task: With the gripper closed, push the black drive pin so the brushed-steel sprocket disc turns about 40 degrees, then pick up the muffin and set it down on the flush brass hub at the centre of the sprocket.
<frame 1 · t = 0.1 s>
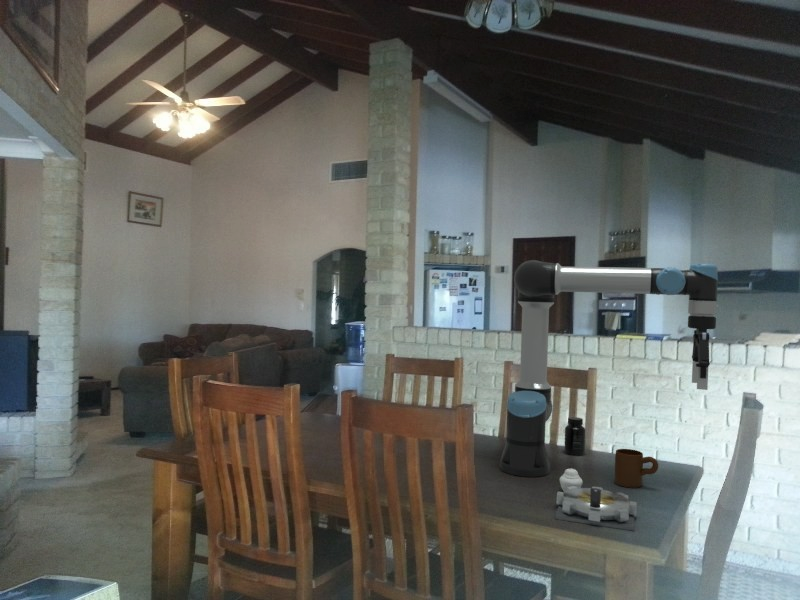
hand: (699, 386, 184), 28 cm above the table, fingers open, 13 cm apart
muffin: (570, 494, 168), on the table
sprocket: (596, 495, 154), point 4 cm above the table, hinge at 0.0°
mug: (635, 486, 176), on the table
supplement bottle: (574, 453, 210), on the table
base plate: (595, 512, 154), on the table
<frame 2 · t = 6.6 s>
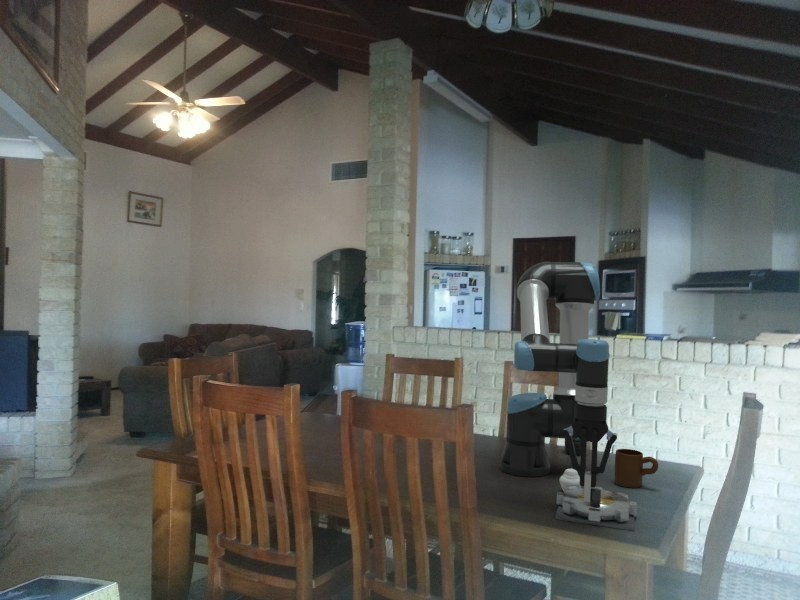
hand: (587, 499, 150), 5 cm above the table, fingers closed
sprocket: (596, 495, 154), point 4 cm above the table, hinge at 0.0°, touching gripper
everything else where it was.
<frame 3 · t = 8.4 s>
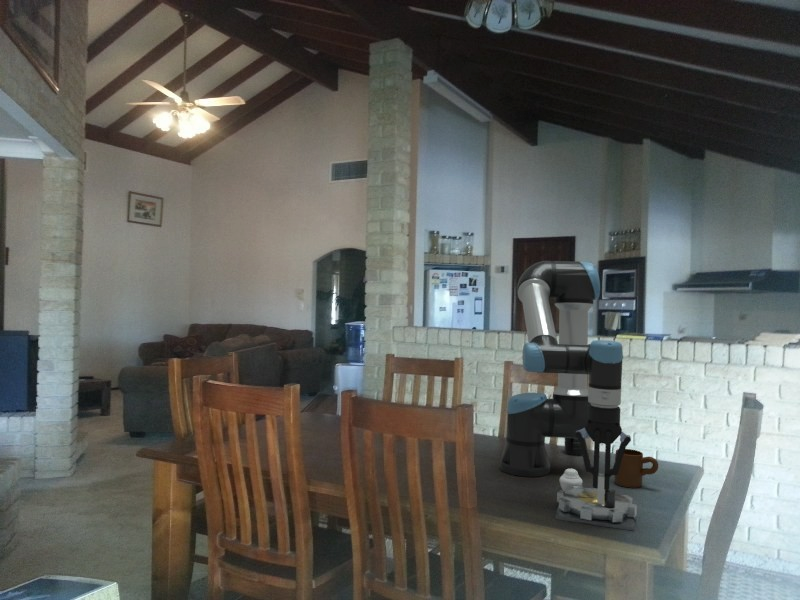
hand: (600, 501, 149), 5 cm above the table, fingers closed
sprocket: (596, 495, 154), point 4 cm above the table, hinge at 33.2°
everything else where it was.
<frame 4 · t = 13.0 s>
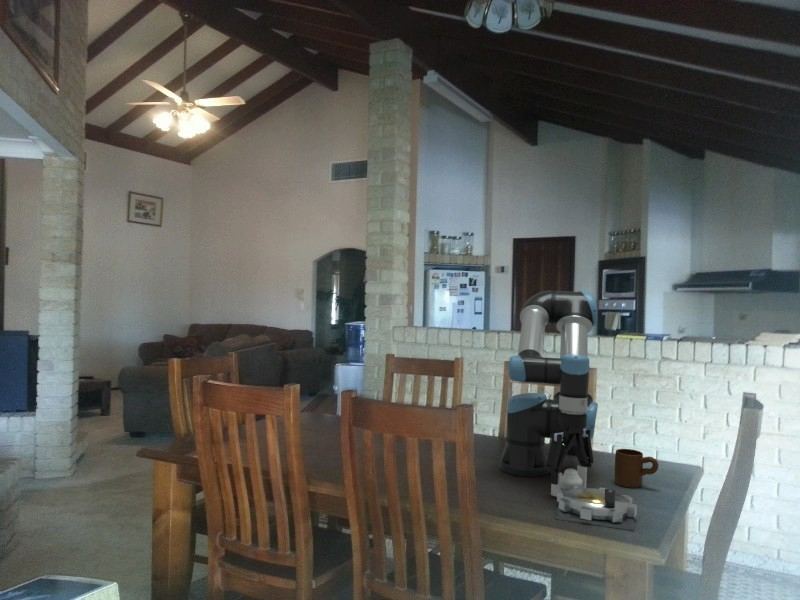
hand: (568, 492, 168), 0 cm above the table, fingers open, 10 cm apart
nothing on the table moved.
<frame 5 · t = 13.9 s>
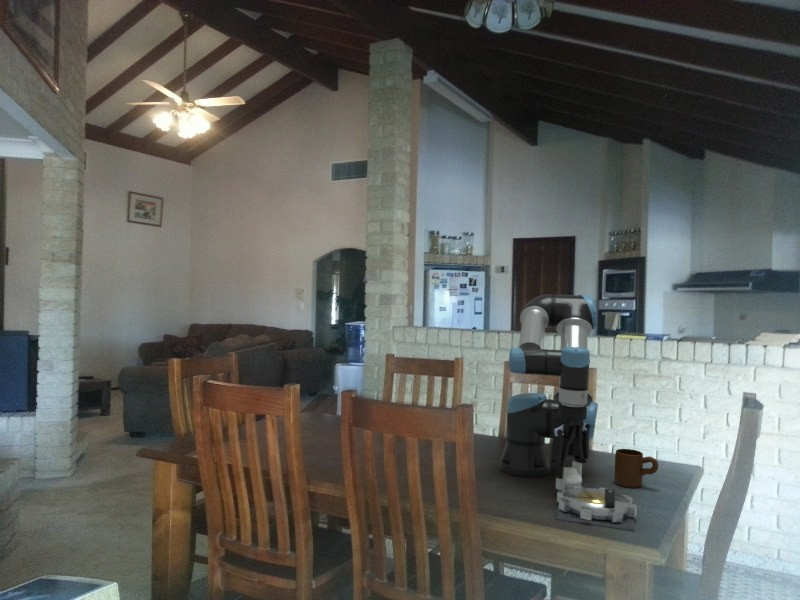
hand: (568, 487, 169), 1 cm above the table, fingers closed on muffin, 6 cm apart
muffin: (571, 492, 168), on the table, touching gripper
everything else where it was.
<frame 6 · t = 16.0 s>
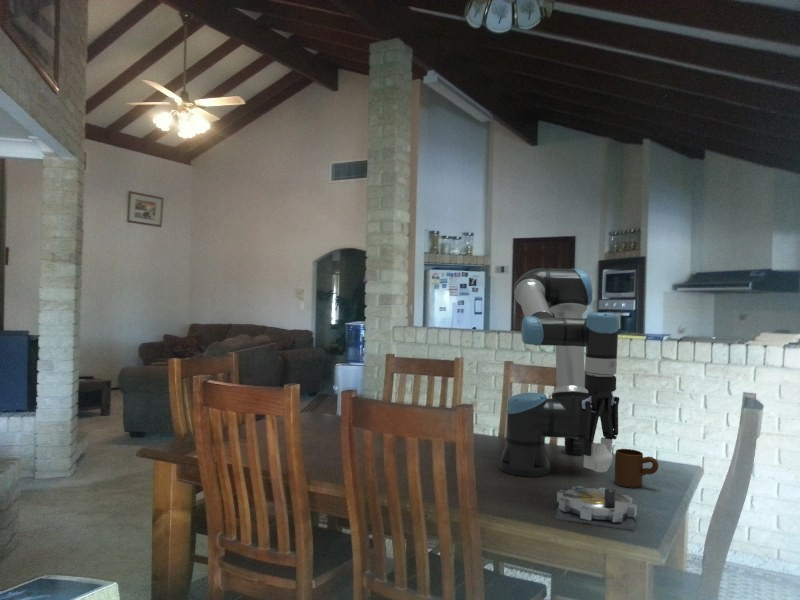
hand: (597, 466, 154), 12 cm above the table, fingers closed on muffin, 6 cm apart
muffin: (600, 471, 154), point 11 cm above the table, touching gripper
everything else where it was.
when the fingers open (4 cm above the table, at t = 17.9 s): muffin stays where it is, resting on sprocket.
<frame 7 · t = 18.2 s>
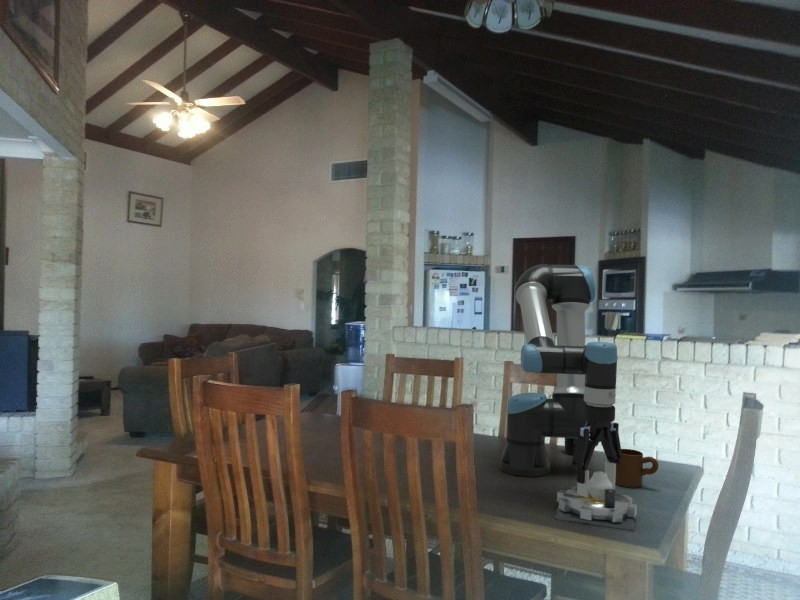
hand: (596, 491, 154), 5 cm above the table, fingers open, 10 cm apart
muffin: (599, 499, 154), point 3 cm above the table, touching sprocket
sprocket: (596, 495, 154), point 4 cm above the table, hinge at 33.1°, touching muffin
everything else where it was.
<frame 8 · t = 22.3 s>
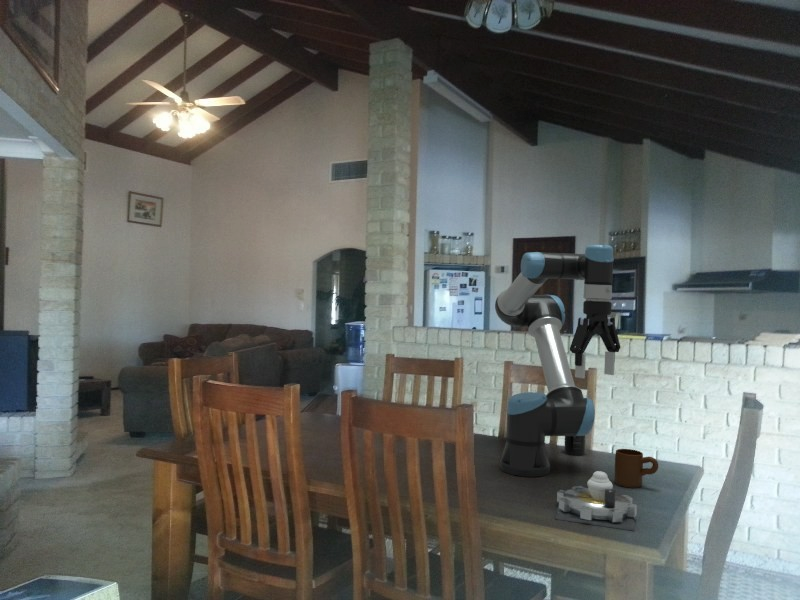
hand: (594, 376, 172), 32 cm above the table, fingers open, 13 cm apart
nothing on the table moved.
at the end: sprocket at +33° (first picture: +0°); muffin 0.8 cm from the sprocket (horizontally); muffin tilted 0° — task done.
